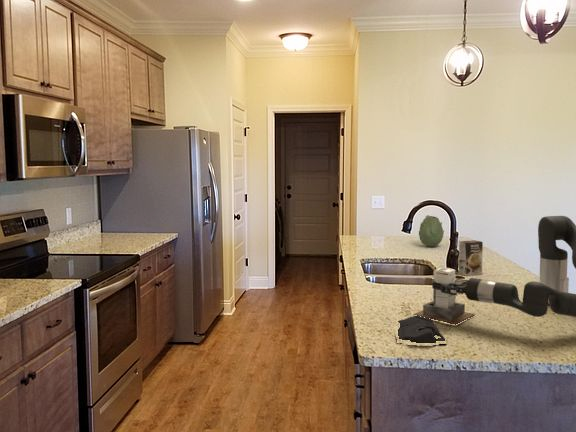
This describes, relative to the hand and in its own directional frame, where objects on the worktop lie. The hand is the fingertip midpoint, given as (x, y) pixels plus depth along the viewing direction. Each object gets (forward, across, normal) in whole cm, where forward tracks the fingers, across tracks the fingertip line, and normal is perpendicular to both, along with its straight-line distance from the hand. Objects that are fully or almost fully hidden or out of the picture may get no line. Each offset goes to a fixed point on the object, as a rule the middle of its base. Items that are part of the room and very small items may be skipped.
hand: (437, 283), depth 176 cm
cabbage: (+75, +125, -11) cm, 146 cm away
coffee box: (+21, +68, -12) cm, 72 cm away
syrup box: (-2, 0, -9) cm, 10 cm away
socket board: (-2, 0, -12) cm, 12 cm away
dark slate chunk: (-5, -21, -13) cm, 25 cm away
